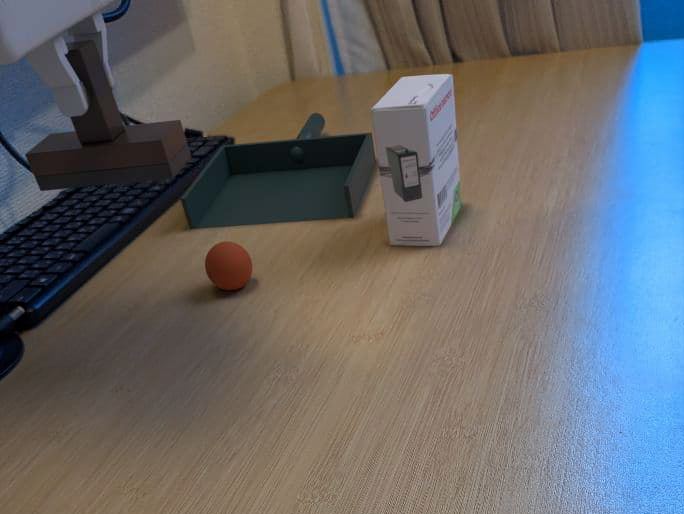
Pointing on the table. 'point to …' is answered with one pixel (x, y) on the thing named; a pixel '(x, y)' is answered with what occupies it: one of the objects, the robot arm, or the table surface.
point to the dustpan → (282, 180)
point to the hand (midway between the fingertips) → (90, 103)
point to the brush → (105, 139)
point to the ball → (228, 265)
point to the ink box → (418, 159)
